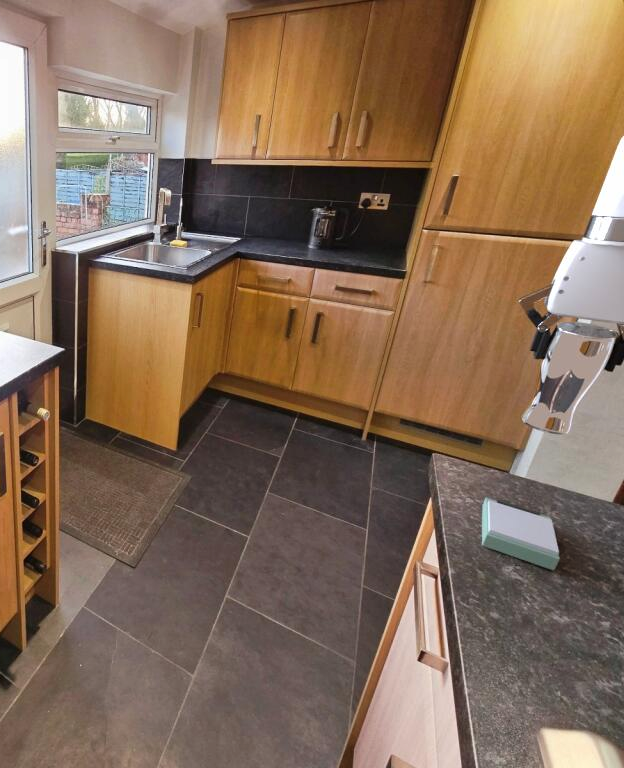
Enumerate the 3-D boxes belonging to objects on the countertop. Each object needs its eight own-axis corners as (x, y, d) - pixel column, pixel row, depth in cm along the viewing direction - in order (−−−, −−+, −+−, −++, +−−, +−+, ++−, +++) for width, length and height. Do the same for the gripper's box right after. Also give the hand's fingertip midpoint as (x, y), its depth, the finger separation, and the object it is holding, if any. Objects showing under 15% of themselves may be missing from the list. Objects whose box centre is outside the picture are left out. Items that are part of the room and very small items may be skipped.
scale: (481, 507, 78) (487, 494, 77) (545, 527, 74) (552, 513, 73) (482, 545, 70) (488, 531, 69) (554, 571, 66) (561, 555, 65)
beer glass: (587, 430, 72) (633, 334, 66) (555, 440, 70) (601, 342, 63) (535, 408, 78) (574, 318, 71) (505, 417, 76) (542, 324, 69)
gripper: (712, 236, 62) (648, 369, 69) (536, 226, 71) (495, 344, 78) (735, 241, 56) (663, 385, 63) (540, 229, 65) (496, 356, 72)
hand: (571, 361), depth 70 cm, fingers closed on beer glass, 7 cm apart
